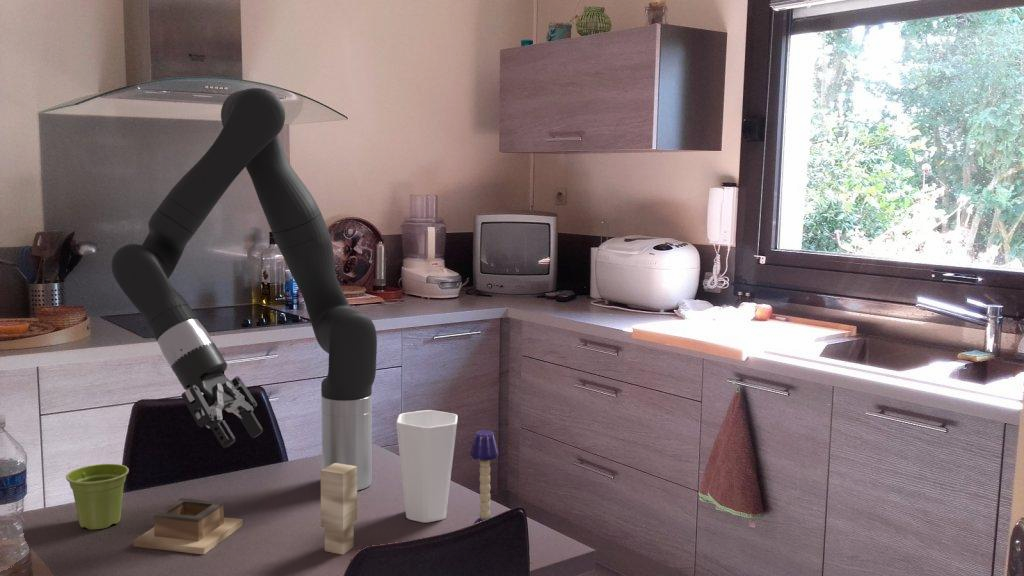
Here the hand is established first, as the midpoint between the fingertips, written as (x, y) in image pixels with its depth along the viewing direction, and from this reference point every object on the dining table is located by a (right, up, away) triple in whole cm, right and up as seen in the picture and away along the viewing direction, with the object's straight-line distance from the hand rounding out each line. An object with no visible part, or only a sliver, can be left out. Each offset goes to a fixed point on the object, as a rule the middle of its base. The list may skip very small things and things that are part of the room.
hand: (244, 439), depth 142 cm
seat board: (-9, -16, +2) cm, 18 cm away
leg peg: (+15, -17, -2) cm, 23 cm away
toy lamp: (+37, -16, +7) cm, 41 cm away
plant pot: (-26, -15, +7) cm, 31 cm away
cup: (+27, -15, +13) cm, 34 cm away
